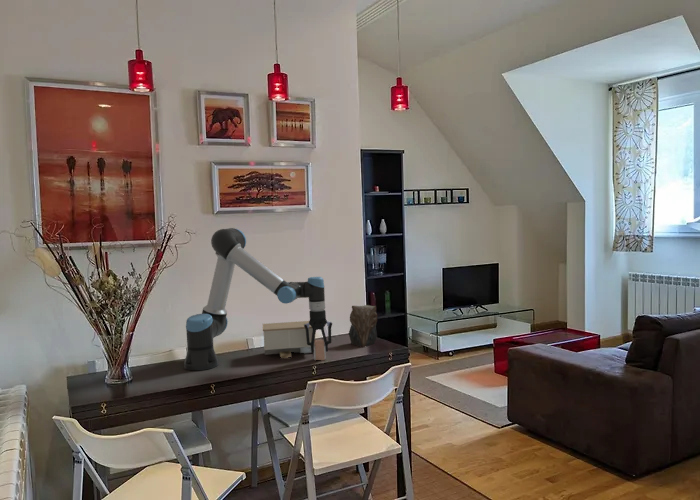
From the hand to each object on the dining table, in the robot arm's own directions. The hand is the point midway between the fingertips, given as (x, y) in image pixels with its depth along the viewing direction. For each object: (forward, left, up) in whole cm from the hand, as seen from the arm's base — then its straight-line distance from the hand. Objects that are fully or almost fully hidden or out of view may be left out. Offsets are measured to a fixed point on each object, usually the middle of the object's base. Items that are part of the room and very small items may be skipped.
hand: (319, 358), depth 255 cm
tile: (-16, +10, -1) cm, 18 cm away
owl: (+25, +24, -1) cm, 35 cm away
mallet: (-3, +6, 0) cm, 7 cm away
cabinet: (-14, +13, 0) cm, 19 cm away
